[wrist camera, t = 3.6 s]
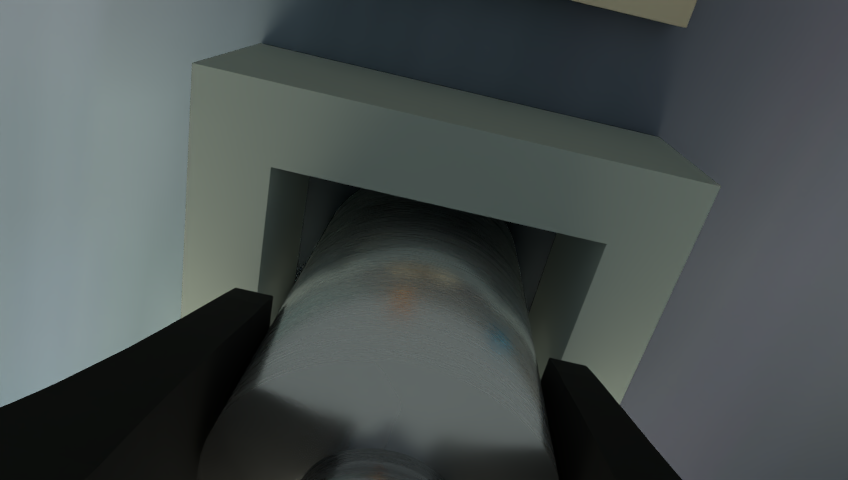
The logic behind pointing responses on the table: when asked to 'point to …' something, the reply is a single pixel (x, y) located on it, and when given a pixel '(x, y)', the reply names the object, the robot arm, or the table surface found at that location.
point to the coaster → (650, 9)
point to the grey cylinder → (393, 359)
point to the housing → (438, 190)
